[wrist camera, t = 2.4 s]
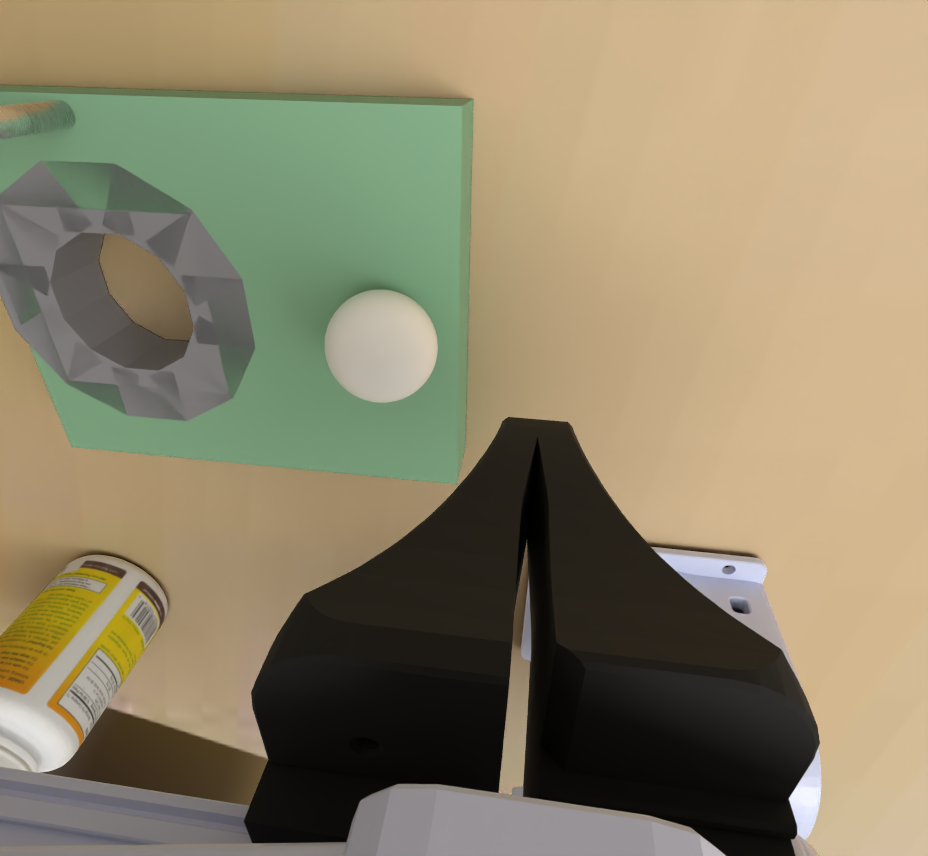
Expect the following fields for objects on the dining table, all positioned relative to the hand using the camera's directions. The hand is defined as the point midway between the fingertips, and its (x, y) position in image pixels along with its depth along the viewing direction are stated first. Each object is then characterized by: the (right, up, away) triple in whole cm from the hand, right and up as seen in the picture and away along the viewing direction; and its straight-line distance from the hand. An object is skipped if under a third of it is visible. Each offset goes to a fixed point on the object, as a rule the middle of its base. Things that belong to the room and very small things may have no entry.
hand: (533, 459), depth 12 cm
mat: (-9, +6, +8) cm, 13 cm away
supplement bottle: (-19, -8, +19) cm, 28 cm away
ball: (-4, +3, +5) cm, 7 cm away
